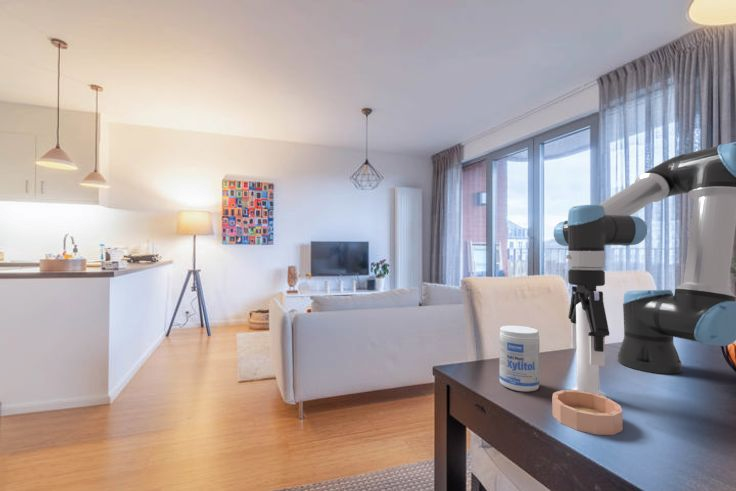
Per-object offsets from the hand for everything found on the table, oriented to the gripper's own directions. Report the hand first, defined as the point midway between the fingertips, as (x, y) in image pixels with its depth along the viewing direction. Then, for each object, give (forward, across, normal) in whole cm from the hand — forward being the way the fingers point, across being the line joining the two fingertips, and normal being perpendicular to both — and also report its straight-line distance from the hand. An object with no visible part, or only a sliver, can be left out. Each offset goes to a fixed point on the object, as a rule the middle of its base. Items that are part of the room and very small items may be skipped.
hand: (586, 356), depth 83 cm
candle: (+10, 0, 0) cm, 10 cm away
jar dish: (+9, +14, -4) cm, 17 cm away
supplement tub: (+10, -2, -15) cm, 18 cm away
